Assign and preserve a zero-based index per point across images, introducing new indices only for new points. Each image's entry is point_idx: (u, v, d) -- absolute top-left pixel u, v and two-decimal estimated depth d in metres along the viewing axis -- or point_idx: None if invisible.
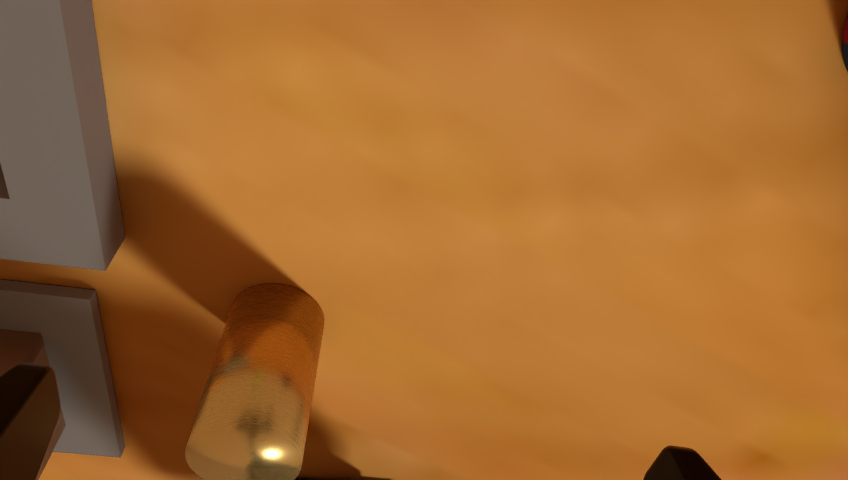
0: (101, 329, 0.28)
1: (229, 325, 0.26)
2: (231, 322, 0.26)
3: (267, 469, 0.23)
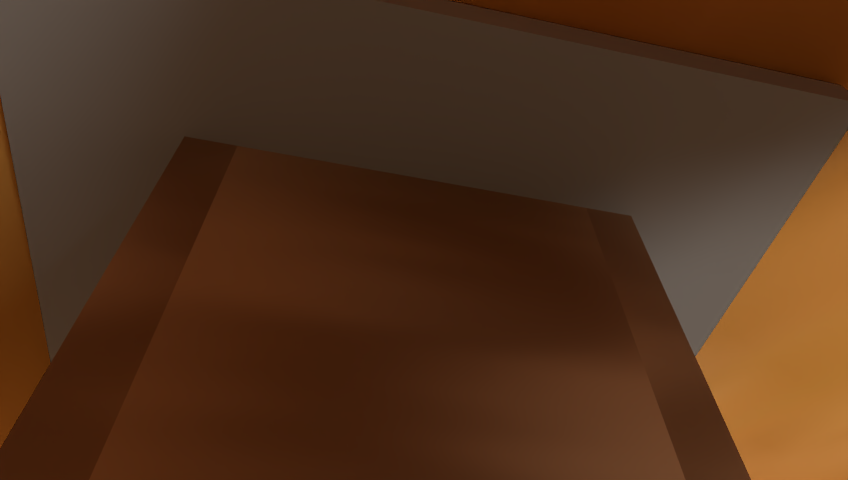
0: None
1: None
2: None
3: None
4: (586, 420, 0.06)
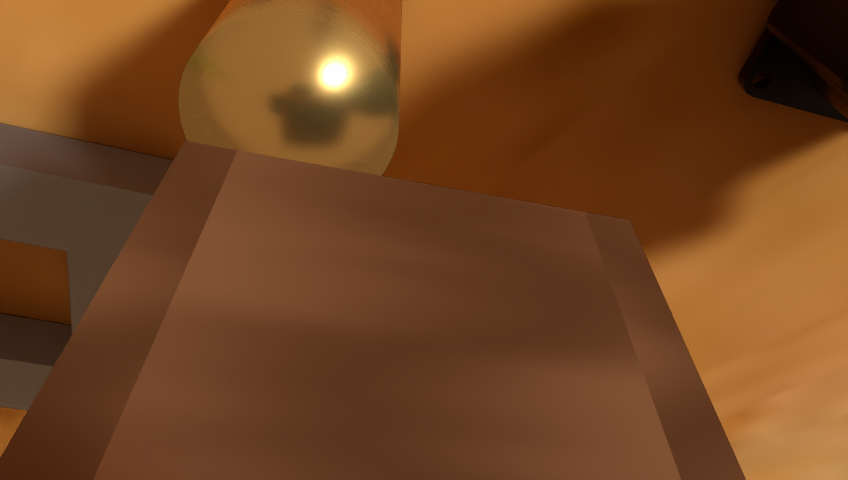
0: None
1: None
2: None
3: (321, 87, 0.12)
4: (584, 425, 0.06)
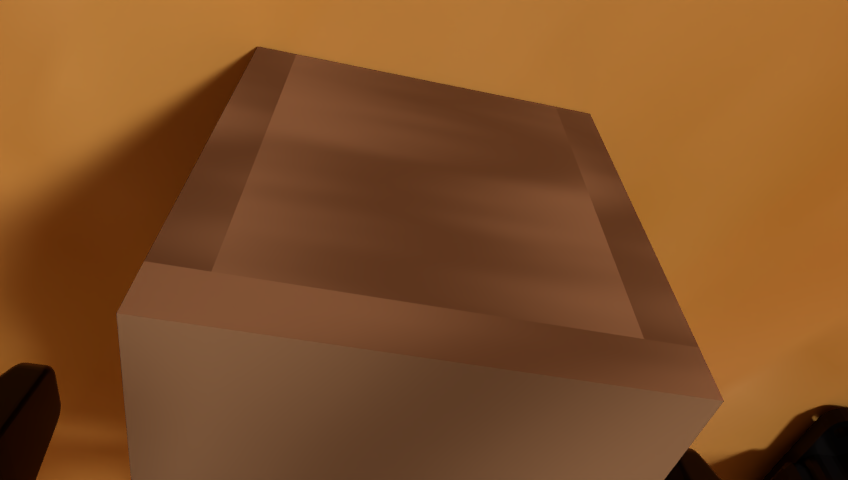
0: None
1: None
2: None
3: None
4: (545, 214, 0.09)
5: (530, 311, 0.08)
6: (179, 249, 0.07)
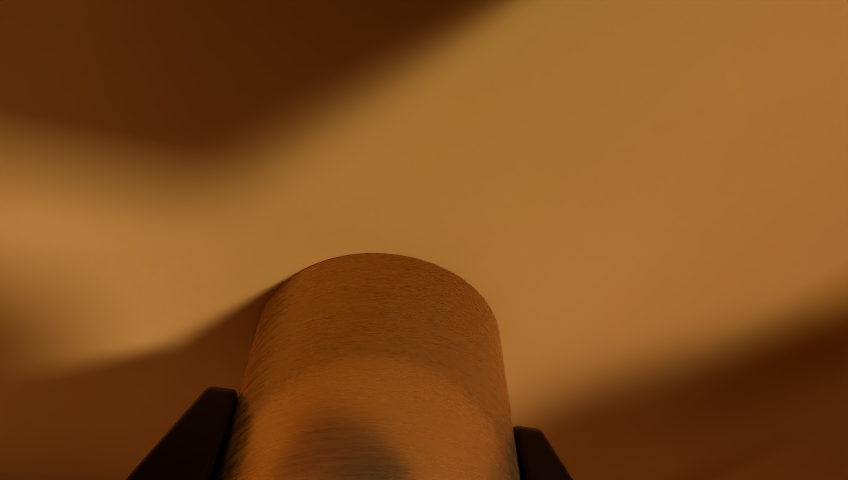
0: None
1: None
2: None
3: None
4: None
5: None
6: None
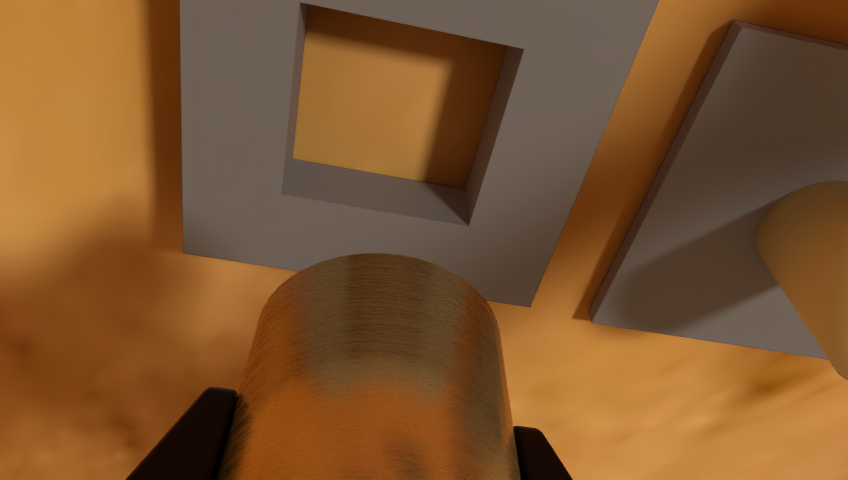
0: (810, 37, 0.18)
1: None
2: None
3: None
4: None
5: None
6: None
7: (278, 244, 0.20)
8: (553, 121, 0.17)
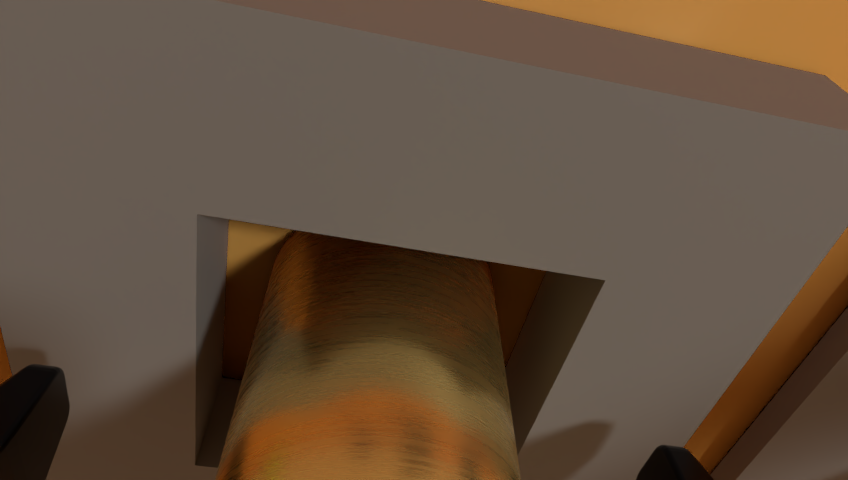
0: None
1: None
2: None
3: None
4: None
5: None
6: None
7: None
8: (643, 375, 0.10)
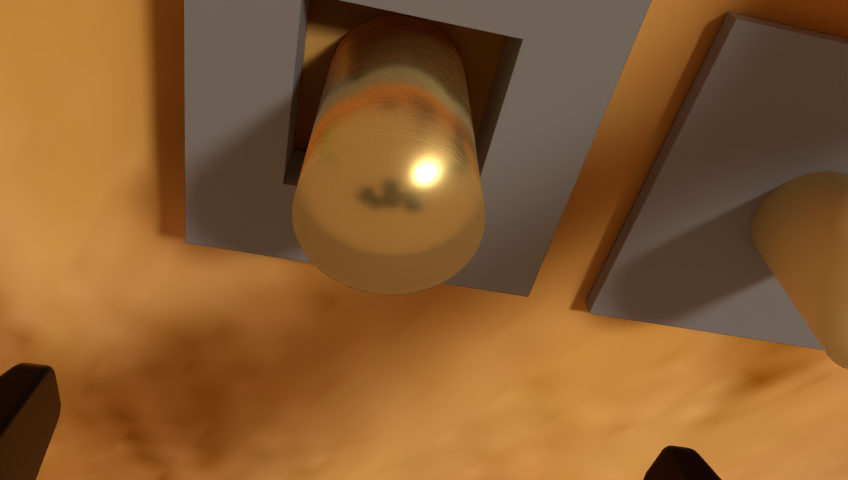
0: (803, 29, 0.18)
1: None
2: None
3: (417, 193, 0.13)
4: None
5: None
6: None
7: (279, 234, 0.20)
8: (550, 111, 0.18)
